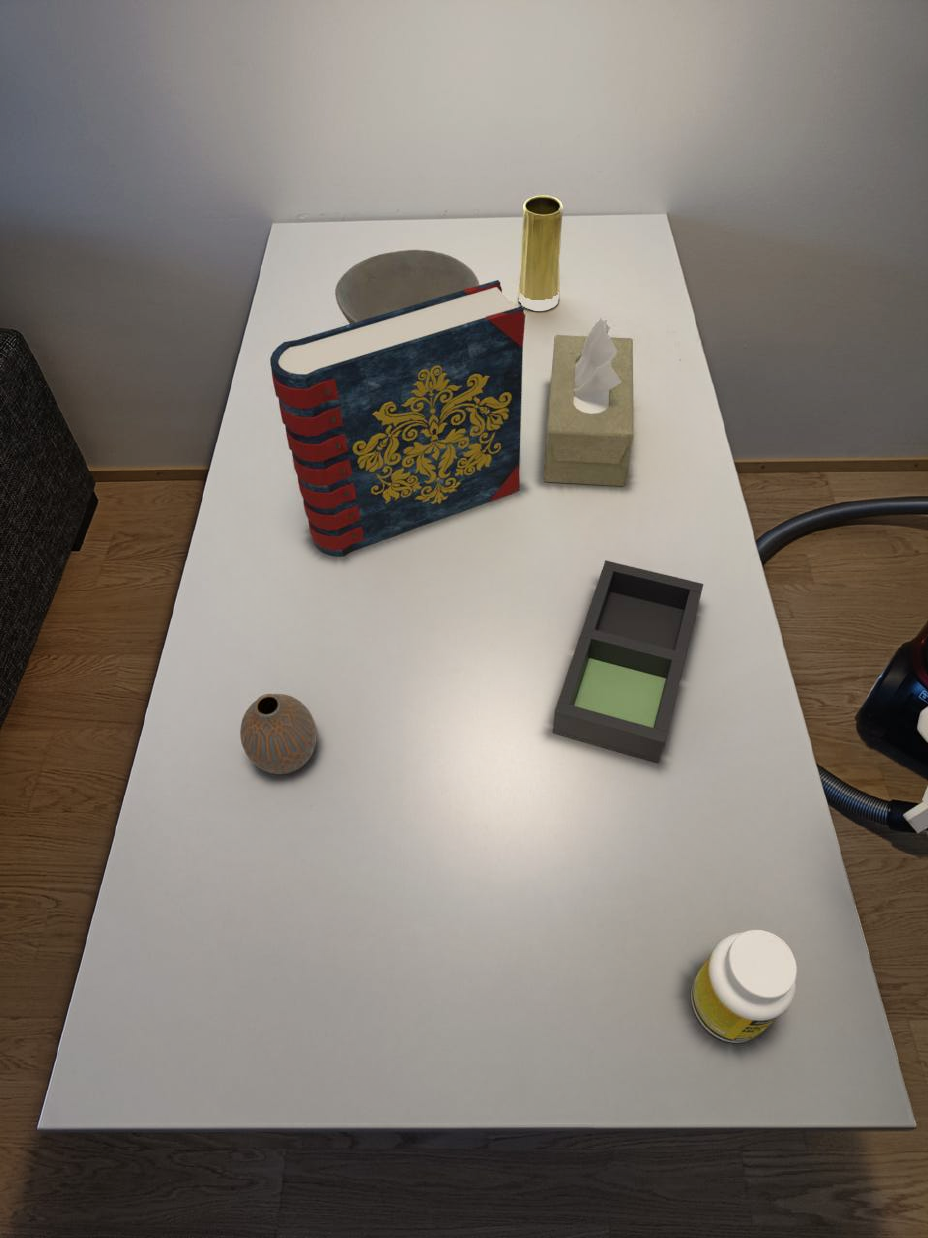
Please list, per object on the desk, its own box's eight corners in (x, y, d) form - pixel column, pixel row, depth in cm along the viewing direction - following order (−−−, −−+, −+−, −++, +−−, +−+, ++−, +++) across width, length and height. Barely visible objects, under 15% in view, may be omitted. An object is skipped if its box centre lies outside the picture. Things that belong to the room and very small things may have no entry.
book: (323, 565, 100) (280, 387, 80) (303, 525, 103) (257, 345, 83) (522, 493, 105) (528, 311, 86) (496, 457, 109) (496, 275, 89)
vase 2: (552, 315, 127) (558, 220, 115) (511, 307, 128) (513, 212, 117) (564, 292, 130) (571, 197, 119) (525, 284, 131) (528, 190, 120)
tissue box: (625, 489, 105) (643, 381, 93) (543, 484, 106) (550, 376, 94) (625, 388, 117) (641, 279, 104) (551, 384, 118) (558, 276, 105)
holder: (658, 763, 84) (664, 742, 80) (552, 733, 86) (554, 711, 83) (696, 607, 95) (703, 583, 91) (601, 584, 97) (605, 560, 94)
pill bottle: (735, 1063, 68) (771, 1030, 59) (673, 999, 71) (699, 959, 62) (784, 1006, 70) (826, 966, 62) (723, 946, 73) (754, 901, 64)
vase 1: (334, 759, 85) (320, 712, 78) (270, 797, 83) (249, 753, 76) (300, 709, 88) (284, 660, 81) (238, 744, 86) (215, 696, 79)
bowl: (382, 414, 115) (374, 349, 107) (324, 338, 125) (312, 274, 117) (506, 366, 120) (506, 301, 112) (440, 298, 130) (436, 234, 122)
